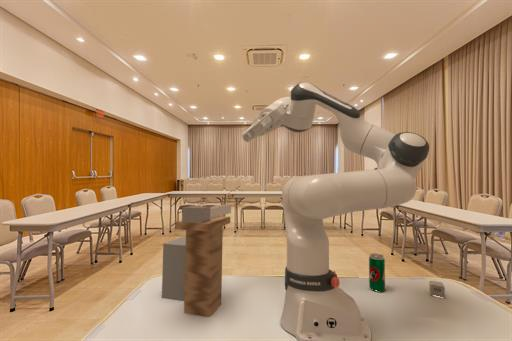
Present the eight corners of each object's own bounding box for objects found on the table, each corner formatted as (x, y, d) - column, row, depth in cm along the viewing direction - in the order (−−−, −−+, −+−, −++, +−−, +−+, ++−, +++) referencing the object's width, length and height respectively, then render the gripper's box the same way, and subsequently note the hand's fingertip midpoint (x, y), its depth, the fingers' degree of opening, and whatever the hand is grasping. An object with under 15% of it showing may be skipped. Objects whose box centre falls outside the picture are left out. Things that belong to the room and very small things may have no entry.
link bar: (235, 213, 95) (235, 202, 95) (202, 223, 70) (202, 208, 70) (219, 212, 97) (219, 201, 97) (182, 222, 72) (182, 207, 72)
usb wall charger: (430, 296, 88) (429, 284, 88) (428, 289, 94) (428, 277, 94) (445, 299, 86) (444, 286, 86) (442, 291, 92) (442, 280, 92)
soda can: (386, 293, 90) (386, 257, 90) (371, 291, 91) (370, 256, 91) (382, 287, 95) (382, 253, 95) (367, 286, 96) (367, 252, 96)
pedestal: (206, 282, 98) (207, 236, 98) (184, 300, 82) (185, 245, 83) (187, 280, 100) (188, 234, 101) (161, 297, 84) (163, 243, 85)
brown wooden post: (229, 299, 84) (230, 216, 85) (207, 325, 68) (209, 223, 70) (200, 295, 86) (202, 215, 88) (172, 319, 71) (175, 221, 72)
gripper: (295, 110, 93) (278, 125, 84) (259, 136, 108) (241, 152, 98) (285, 95, 93) (266, 108, 83) (250, 124, 107) (230, 138, 97)
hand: (252, 132), depth 90 cm, fingers open, 8 cm apart
